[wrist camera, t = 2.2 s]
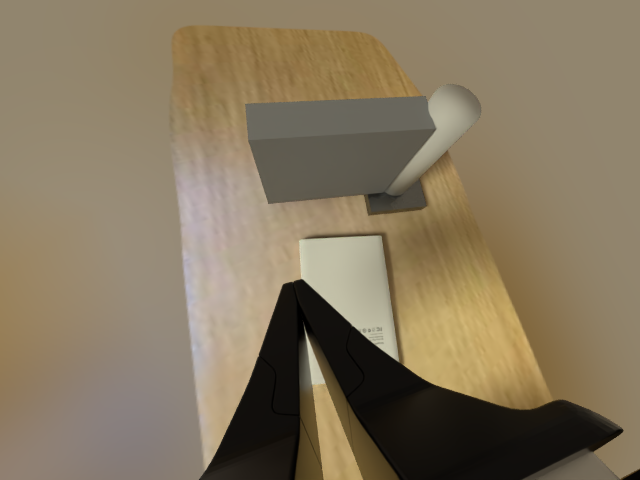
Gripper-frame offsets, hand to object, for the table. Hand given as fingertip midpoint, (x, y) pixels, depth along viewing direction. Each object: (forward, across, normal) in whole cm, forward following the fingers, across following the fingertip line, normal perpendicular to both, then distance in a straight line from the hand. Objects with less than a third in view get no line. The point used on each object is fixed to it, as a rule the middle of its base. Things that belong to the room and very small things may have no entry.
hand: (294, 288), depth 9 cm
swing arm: (+14, -7, +1) cm, 16 cm away
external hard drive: (+8, -4, +11) cm, 14 cm away
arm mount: (+14, -13, +3) cm, 19 cm away
